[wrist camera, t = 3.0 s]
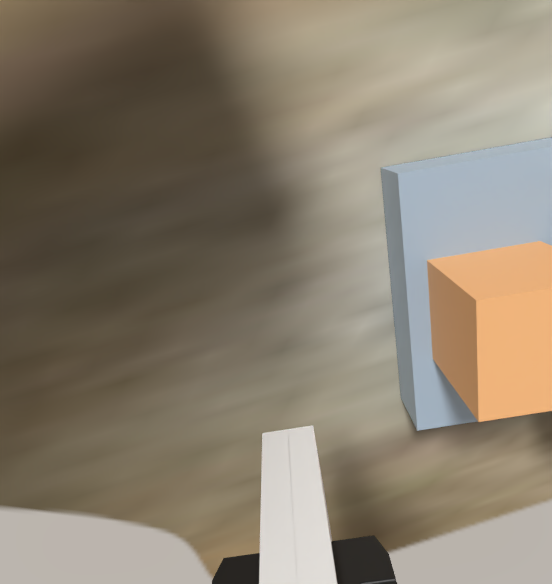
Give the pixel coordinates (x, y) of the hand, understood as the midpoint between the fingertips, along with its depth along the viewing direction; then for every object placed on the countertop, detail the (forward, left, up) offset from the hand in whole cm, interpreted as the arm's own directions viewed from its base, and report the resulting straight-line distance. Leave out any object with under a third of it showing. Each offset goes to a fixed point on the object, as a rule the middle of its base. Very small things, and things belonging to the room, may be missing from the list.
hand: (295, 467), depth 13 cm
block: (+8, +5, -8) cm, 13 cm away
